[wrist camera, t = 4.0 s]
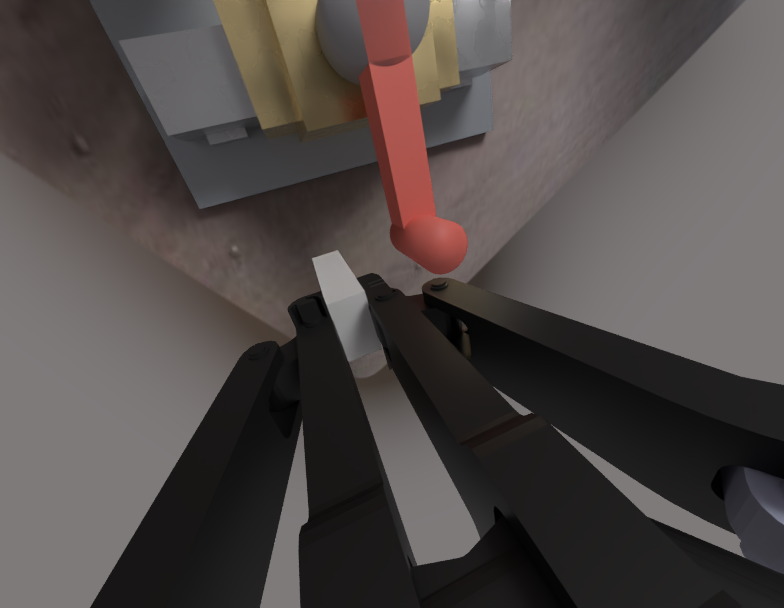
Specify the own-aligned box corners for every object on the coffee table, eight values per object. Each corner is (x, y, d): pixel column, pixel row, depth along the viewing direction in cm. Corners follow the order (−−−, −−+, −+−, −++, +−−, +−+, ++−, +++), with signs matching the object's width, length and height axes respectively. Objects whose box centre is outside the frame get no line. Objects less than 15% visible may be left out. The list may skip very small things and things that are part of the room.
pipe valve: (467, -14, 21) (541, -90, 15) (476, 100, 24) (539, 76, 18) (139, 38, 17) (58, -38, 11) (203, 167, 20) (168, 164, 14)
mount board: (475, -57, 21) (483, -67, 20) (486, 131, 27) (493, 130, 26) (90, -7, 16) (79, -17, 15) (203, 207, 22) (199, 209, 21)
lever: (301, -25, 13) (310, -148, 8) (392, -38, 14) (452, -156, 9) (376, 258, 19) (408, 287, 14) (435, 238, 20) (485, 259, 15)
